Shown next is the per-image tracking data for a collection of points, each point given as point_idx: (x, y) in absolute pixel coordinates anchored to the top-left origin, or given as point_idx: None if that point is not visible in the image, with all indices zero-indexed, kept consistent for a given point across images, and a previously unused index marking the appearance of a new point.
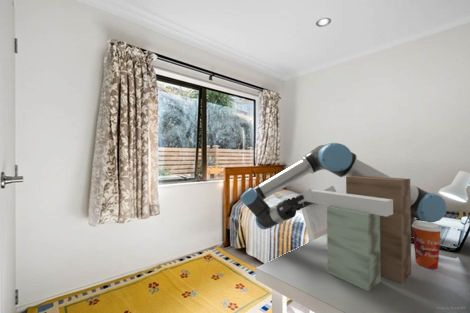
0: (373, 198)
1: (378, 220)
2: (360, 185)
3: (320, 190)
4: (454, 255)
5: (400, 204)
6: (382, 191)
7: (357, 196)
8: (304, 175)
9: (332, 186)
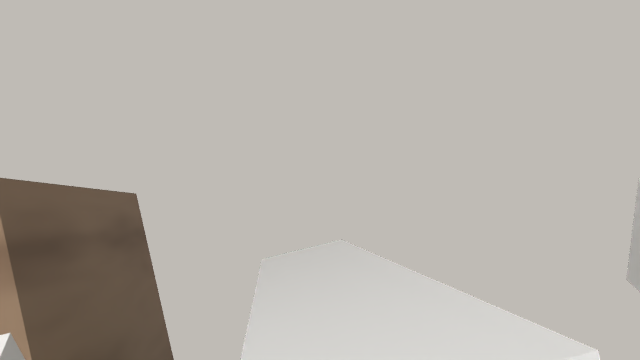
0: (312, 253)
1: None
2: (77, 259)
3: (289, 356)
4: None
5: (164, 323)
6: (129, 273)
7: (326, 259)
8: None
9: (8, 341)
